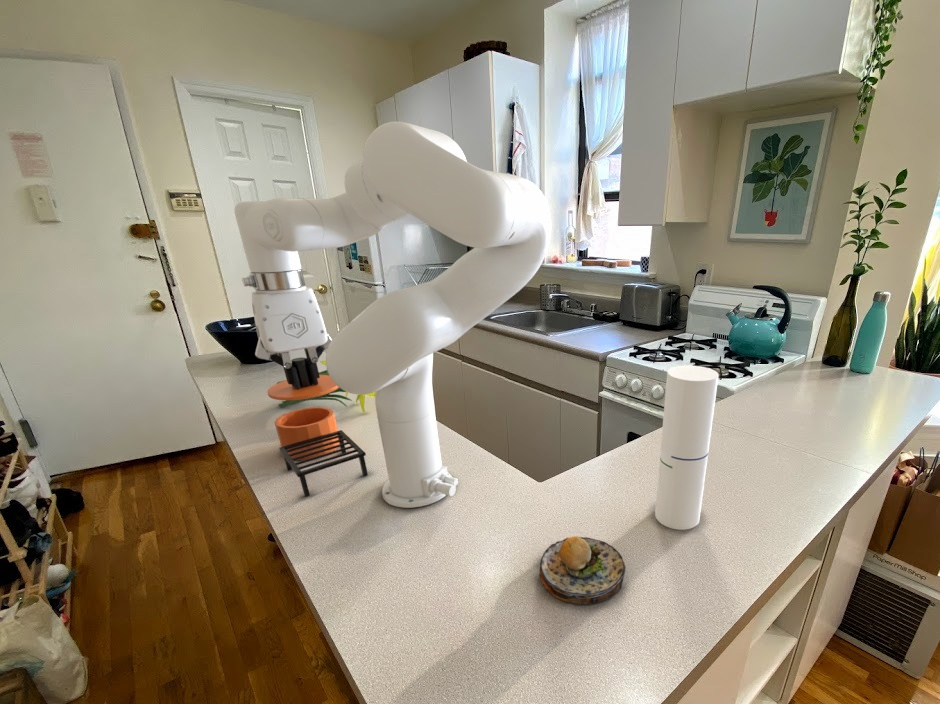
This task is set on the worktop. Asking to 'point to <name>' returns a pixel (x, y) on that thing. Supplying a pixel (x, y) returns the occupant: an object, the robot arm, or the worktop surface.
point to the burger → (582, 570)
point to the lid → (302, 384)
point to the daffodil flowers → (329, 395)
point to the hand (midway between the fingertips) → (304, 384)
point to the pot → (306, 428)
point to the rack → (341, 438)
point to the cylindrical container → (685, 444)
